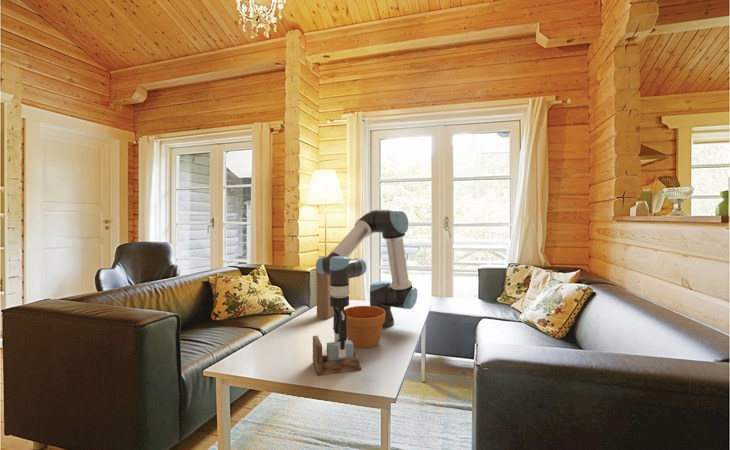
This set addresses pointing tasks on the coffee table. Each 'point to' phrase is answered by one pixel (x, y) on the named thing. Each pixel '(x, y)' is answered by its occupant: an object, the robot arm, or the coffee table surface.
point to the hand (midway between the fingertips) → (340, 353)
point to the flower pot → (364, 325)
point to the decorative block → (323, 296)
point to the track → (331, 366)
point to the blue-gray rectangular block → (333, 351)
